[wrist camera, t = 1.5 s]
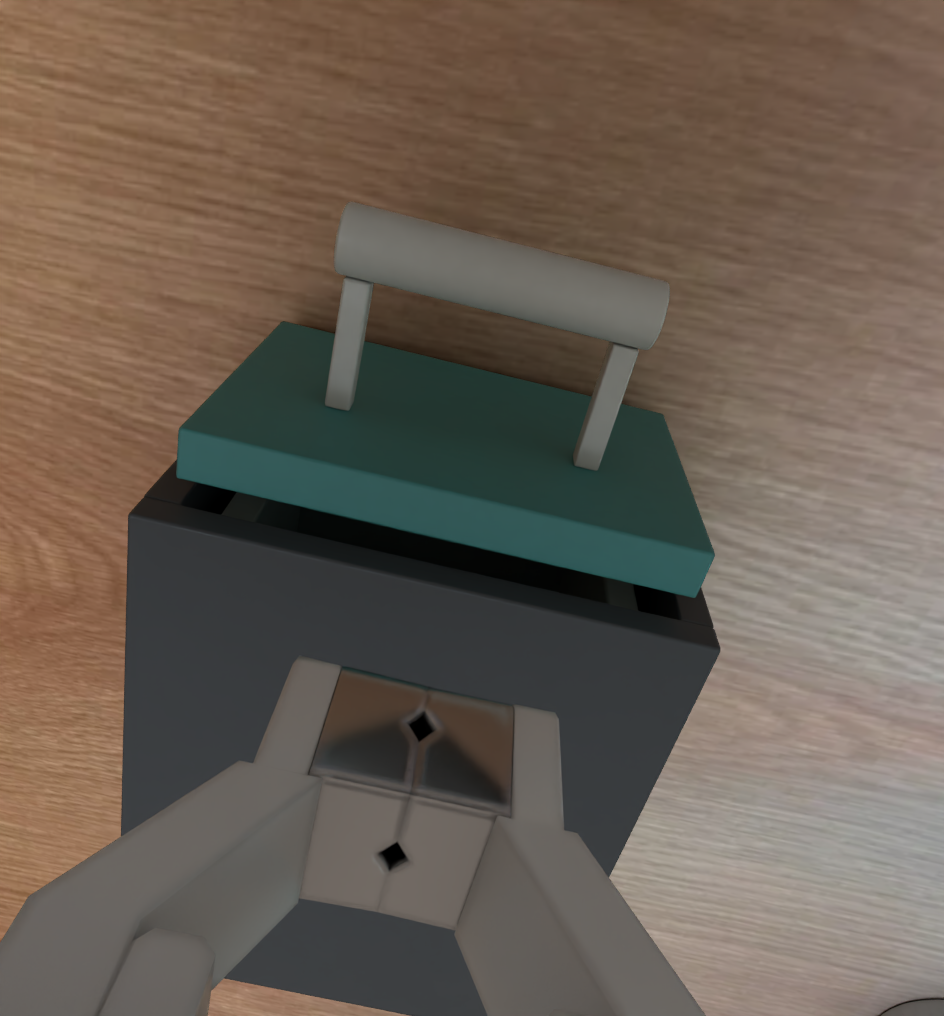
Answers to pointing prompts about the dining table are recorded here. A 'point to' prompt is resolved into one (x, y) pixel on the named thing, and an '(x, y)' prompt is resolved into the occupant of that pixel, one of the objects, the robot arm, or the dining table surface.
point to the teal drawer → (460, 426)
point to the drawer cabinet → (394, 653)
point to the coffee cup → (918, 1009)
